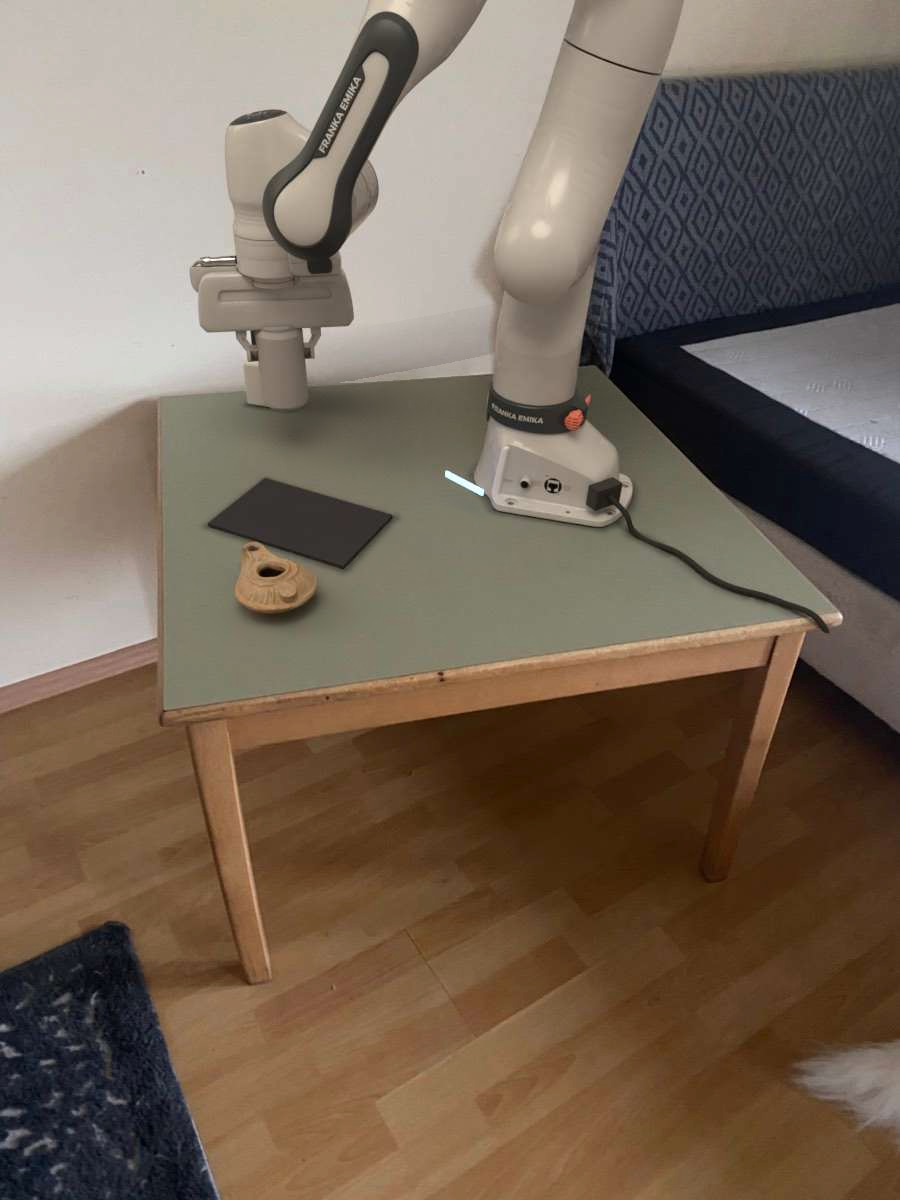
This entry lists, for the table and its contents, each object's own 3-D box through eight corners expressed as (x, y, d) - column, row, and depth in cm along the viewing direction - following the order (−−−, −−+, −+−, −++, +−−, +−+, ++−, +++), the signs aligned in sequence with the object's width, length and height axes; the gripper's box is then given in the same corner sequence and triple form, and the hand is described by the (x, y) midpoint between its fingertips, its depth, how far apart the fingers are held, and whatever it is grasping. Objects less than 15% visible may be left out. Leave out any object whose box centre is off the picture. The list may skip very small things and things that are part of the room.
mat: (392, 517, 116) (392, 514, 116) (343, 569, 106) (343, 565, 106) (265, 480, 122) (264, 477, 121) (208, 526, 112) (207, 523, 112)
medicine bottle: (289, 410, 139) (283, 337, 131) (246, 404, 140) (238, 332, 132) (304, 392, 144) (299, 320, 137) (263, 386, 145) (256, 315, 138)
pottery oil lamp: (283, 553, 108) (305, 517, 103) (306, 635, 102) (330, 601, 97) (214, 549, 103) (233, 510, 98) (234, 635, 97) (256, 599, 92)
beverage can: (316, 407, 123) (310, 323, 116) (275, 418, 120) (265, 333, 113) (296, 390, 127) (289, 309, 120) (255, 400, 124) (245, 317, 117)
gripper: (185, 265, 107) (203, 372, 116) (352, 259, 110) (357, 364, 119) (188, 249, 112) (204, 353, 120) (348, 245, 115) (352, 346, 124)
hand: (281, 358), depth 120 cm, fingers closed on beverage can, 6 cm apart
